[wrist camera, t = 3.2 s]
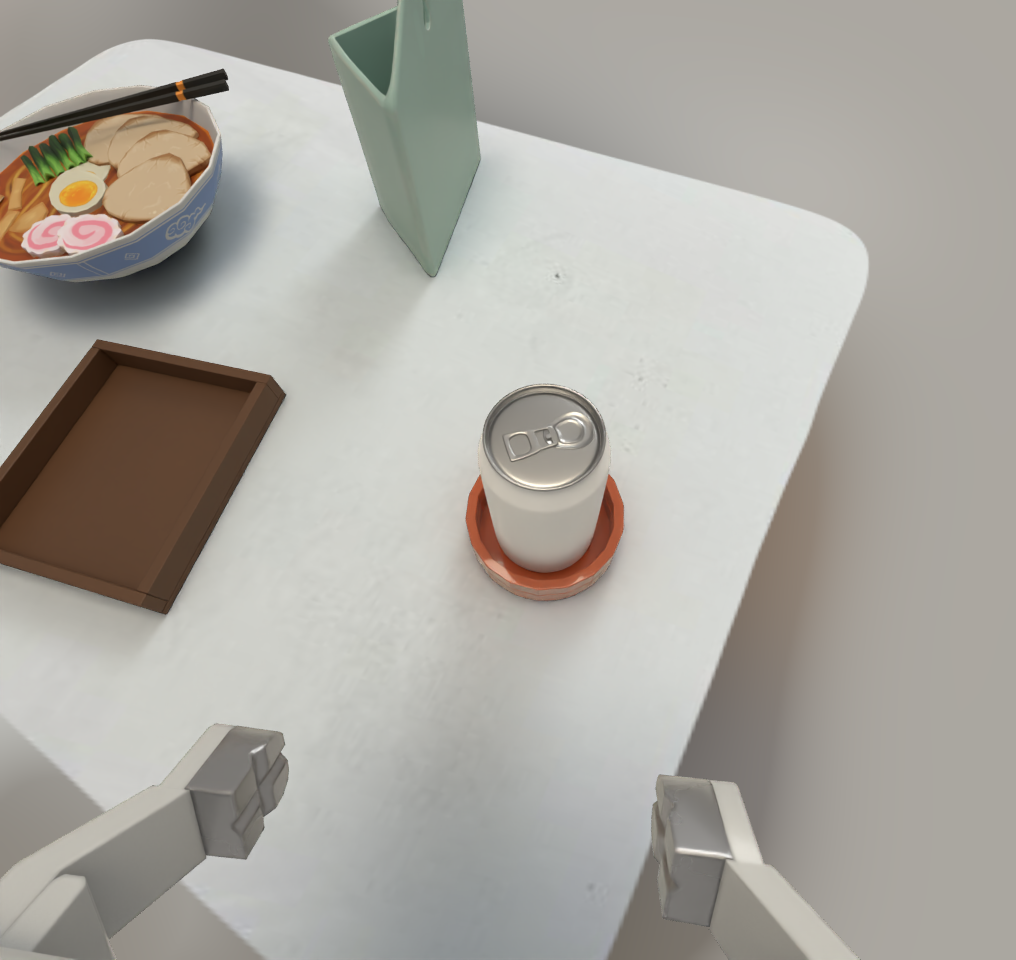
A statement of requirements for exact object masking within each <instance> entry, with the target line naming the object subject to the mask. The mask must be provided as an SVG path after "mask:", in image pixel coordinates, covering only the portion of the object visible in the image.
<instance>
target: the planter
mask: <svg viewBox="0 0 1016 960" xmlns="http://www.w3.org/2000/svg"><path fill="white" fill-rule="evenodd" d="M328 43H329V46H330V49H331V53H332V56H333V59H334V62H335V66H336V69H337V72H338V75H339V78H340V81H341V84H342V87H343V90H344V93H345V97H346V100H347V103H348V106H349V109H350V112H351V115H352V118H353V121H354V124H355V127H356V130H357V133H358V136H359V140H360V143H361V146H362V149H363V152H364V155H365V158H366V162H367V165H368V168H369V171H370V174H371V177H372V181H373V184H374V187H375V190H376V193H377V197H378V200H379V204H380V206H381V208H382V210H383V212H384V214H385V215H386V217H387V219H388V221H389V222H390V224H391V225H392V226H393V228H394V229H395V230H396V232H397V233H398V235H399V236H400V237H401V238H402V240H403V241H404V242H405V244H406V245H407V246H408V247H409V249H410V250H411V251H412V253H413V254H414V256H415V257H416V258H417V260H418V261H419V263H420V264H421V266H422V267H423V269H424V270H425V272H426V273H427V274H428V275H430V276H432V277H434V276H435V275H436V274H437V272H438V269H439V266H440V264H441V261H442V259H443V256H444V253H445V251H446V248H447V246H448V243H449V240H450V238H451V235H452V233H453V230H454V227H455V225H456V222H457V220H458V217H459V214H460V212H461V209H462V206H463V204H464V201H465V199H466V196H467V193H468V191H469V188H470V185H471V183H472V180H473V177H474V175H475V172H476V169H477V167H478V164H479V161H480V158H481V157H480V148H479V139H478V131H477V122H476V113H475V105H474V96H473V87H472V78H471V70H470V61H469V52H468V44H467V35H466V27H465V17H464V9H463V2H462V0H398V1H397V6H396V7H394V8H392V9H389V10H387V11H385V12H382V13H380V14H378V15H375V16H373V17H371V18H368V19H366V20H364V21H361V22H359V23H357V24H355V25H353V26H350V27H348V28H346V29H344V30H342V31H339V32H337V33H335V34H333V35H331V36H330V37H329V39H328Z"/></svg>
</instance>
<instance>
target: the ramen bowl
mask: <svg viewBox="0 0 1016 960" xmlns="http://www.w3.org/2000/svg"><path fill="white" fill-rule="evenodd" d="M225 80H228V76H227V74H226V72H225V70H224V69H221V70H217V71H214V72H210V73H206V74H203V75H199V76H196V77H192V78H189V79H185V80H182V81H180V82H175V83H171V84H168V85H164V86H160V87H152V86H144V85H137V86H128V87H119V88H111V89H102V90H93V91H90V92H87V93H84V94H81V95H78V96H75V97H72V98H69V99H66V100H63V101H60V102H57V103H54V104H51V105H48V106H45V107H43V108H41V109H39V110H37V111H36V112H34V113H32V114H30V115H28V116H26V117H24V118H23V119H21V120H19V121H17V122H15V123H13V124H12V125H10V126H8V127H6V128H4V129H2V130H0V266H1V267H5V268H9V269H13V270H17V271H21V272H25V273H30V274H34V275H39V276H44V277H48V278H53V279H57V280H64V281H71V282H84V281H93V280H103V279H112V278H119V277H124V276H127V275H130V274H133V273H135V272H138V271H140V270H143V269H146V268H148V267H151V266H153V265H156V264H159V263H160V262H162V261H163V260H164V259H166V258H167V257H169V256H170V255H172V254H173V253H175V252H176V251H178V250H179V249H181V248H182V247H183V246H185V245H186V244H187V243H188V242H189V240H190V239H191V238H192V237H193V235H194V234H195V233H196V232H197V230H198V229H199V228H200V226H201V225H202V224H203V223H204V221H205V220H206V219H207V218H208V216H209V215H210V214H211V211H212V207H213V203H214V199H215V196H216V192H217V188H218V184H219V179H220V175H221V166H222V142H221V133H220V130H219V128H218V126H217V124H216V121H215V119H214V117H213V115H212V113H211V110H210V108H209V107H208V106H207V105H205V104H203V103H202V102H200V101H198V100H197V99H195V98H197V97H202V96H206V95H211V94H215V93H220V92H224V91H229V87H228V85H227V83H226V81H225Z"/></svg>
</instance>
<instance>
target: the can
mask: <svg viewBox="0 0 1016 960" xmlns="http://www.w3.org/2000/svg"><path fill="white" fill-rule="evenodd" d="M610 463H611V446H610V441H609V438H608V435H607V432H606V429H605V425H604V421H603V419H602V417H601V415H600V413H599V411H598V410H597V408H596V407H595V406H594V405H593V404H592V402H590V401H589V400H588V399H587V398H586V397H585V396H583V395H582V394H580V393H578V392H577V391H575V390H572V389H570V388H567V387H564V386H560V385H554V384H535V385H530V386H526V387H522V388H520V389H517V390H515V391H513V392H511V393H509V394H508V395H506V396H505V397H503V398H502V399H501V400H500V401H499V402H498V403H497V404H496V405H495V406H494V407H493V409H492V410H491V411H490V413H489V415H488V417H487V419H486V421H485V424H484V428H483V433H482V435H481V438H480V442H479V447H478V464H479V469H480V474H481V479H482V483H483V487H484V491H485V495H486V499H487V503H488V507H489V511H490V515H491V519H492V522H493V526H494V530H495V533H496V537H497V540H498V542H499V545H500V547H501V548H502V550H503V552H504V553H505V554H506V555H507V557H508V558H509V559H510V560H512V561H513V562H514V563H515V564H517V565H519V566H520V567H522V568H525V569H527V570H530V571H534V572H541V573H549V572H556V571H560V570H563V569H565V568H567V567H569V566H571V565H573V564H574V563H576V562H577V561H578V560H579V559H580V558H581V557H582V556H583V555H584V554H585V552H586V551H587V549H588V548H589V546H590V544H591V541H592V538H593V535H594V531H595V528H596V524H597V520H598V516H599V512H600V508H601V504H602V499H603V495H604V491H605V487H606V483H607V478H608V474H609V469H610Z"/></svg>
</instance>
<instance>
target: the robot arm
mask: <svg viewBox="0 0 1016 960" xmlns="http://www.w3.org/2000/svg"><path fill="white" fill-rule="evenodd" d="M284 746H285V742H284V737H283V733H281V732H277V731H270V730H263V729H256V728H249V727H242V726H233V725H226V724H219V723H216V724H214V725H212V726H211V727H209V728H208V729H207V730H206V731H205V732H204V733H203V735H202V736H201V737H200V738H199V739H198V740H197V742H196V743H195V744H194V745H193V746H192V748H191V749H190V750H189V751H188V752H187V753H186V755H185V756H184V757H183V758H182V759H181V761H180V762H179V763H178V764H177V765H176V766H175V768H174V769H173V770H172V771H171V772H170V774H169V775H168V776H167V777H166V778H165V779H164V781H163V782H162V783H161V784H160V785H159V786H155V785H152V786H150V787H149V788H147V789H145V790H143V791H142V792H140V793H138V794H136V795H135V796H133V797H131V798H129V799H128V800H126V801H124V802H122V803H121V804H119V805H117V806H115V807H114V808H112V809H110V810H108V811H107V812H105V813H103V814H102V815H100V816H98V817H96V818H95V819H93V820H91V821H89V822H87V823H86V824H84V825H82V826H81V827H79V828H77V829H75V830H73V831H72V832H70V833H68V834H66V835H65V836H63V837H61V838H60V839H58V840H56V841H54V842H52V843H51V844H49V845H47V846H45V847H44V848H42V849H40V850H38V851H37V852H35V853H33V854H31V855H30V856H28V857H26V858H24V859H23V860H21V861H19V862H17V863H16V864H15V865H14V866H13V867H12V868H11V869H10V870H9V871H8V872H7V873H6V874H5V875H4V876H3V877H2V878H1V879H0V960H116V957H115V955H114V952H113V949H112V947H111V944H110V941H109V939H110V938H111V937H112V936H114V935H115V934H116V933H117V932H118V931H120V930H121V929H122V928H123V927H124V926H126V925H127V924H128V923H129V922H130V921H132V920H133V919H134V918H135V917H136V916H138V915H139V914H140V913H141V912H142V911H144V910H145V909H146V908H147V907H148V906H149V905H151V904H152V903H153V902H154V901H156V900H157V899H158V898H159V897H160V896H161V895H163V894H164V893H165V892H166V891H168V890H169V889H170V888H171V887H172V886H173V885H175V884H176V883H177V882H178V881H179V880H181V879H182V878H183V877H184V876H185V875H187V874H188V873H189V872H190V871H191V870H193V869H194V868H195V867H196V866H197V865H199V864H200V863H201V862H202V861H203V860H205V859H206V855H209V856H218V857H227V858H236V859H247V857H248V855H249V854H250V852H251V850H252V849H253V847H254V845H255V843H256V842H257V840H258V838H259V837H260V835H261V833H262V831H263V830H264V819H263V817H264V816H266V815H267V814H268V813H270V812H271V811H273V810H274V809H275V808H276V807H277V805H278V804H279V802H280V800H281V798H282V796H283V794H284V791H285V788H286V785H287V782H288V774H289V766H288V760H287V759H286V758H285V757H284V756H283V755H282V753H281V750H282V749H283V747H284ZM656 795H657V801H656V802H655V803H654V804H653V808H652V816H651V836H652V847H653V854H654V858H655V859H656V861H657V862H658V863H659V865H660V867H659V873H658V880H657V883H658V889H659V896H660V903H661V910H662V917H663V919H666V920H672V921H678V922H684V923H689V924H695V925H701V926H707V927H710V929H709V930H710V932H711V933H712V935H713V936H714V938H715V939H716V941H717V943H718V944H719V945H720V947H721V949H722V950H723V952H724V953H725V955H726V956H727V958H728V960H861V959H859V957H857V955H856V954H855V953H854V952H853V951H852V950H851V949H850V948H849V947H848V946H847V945H846V944H845V942H844V941H843V940H842V939H841V938H840V937H839V936H838V935H837V934H836V933H835V932H834V931H833V930H832V929H831V927H830V926H829V925H828V924H827V923H826V922H825V921H824V920H823V919H822V918H821V917H820V916H819V915H818V914H817V913H816V912H815V910H814V909H813V908H812V907H811V906H810V905H809V904H808V903H807V902H806V901H805V900H804V899H803V897H802V896H801V895H800V894H799V893H798V892H797V891H796V890H795V889H794V888H793V887H792V886H791V885H790V883H788V881H787V880H786V879H785V878H784V877H783V876H782V875H781V874H780V873H779V872H778V871H777V870H776V868H775V867H774V866H772V865H767V864H764V861H763V858H762V855H761V852H760V850H759V846H758V843H757V841H756V838H755V835H754V832H753V829H752V826H751V823H750V820H749V817H748V814H747V811H746V808H745V805H744V802H743V799H742V796H741V794H740V790H739V788H738V787H737V785H736V784H735V783H733V782H723V781H714V780H707V779H698V778H689V777H679V776H669V775H659V776H658V778H657V782H656Z"/></svg>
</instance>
